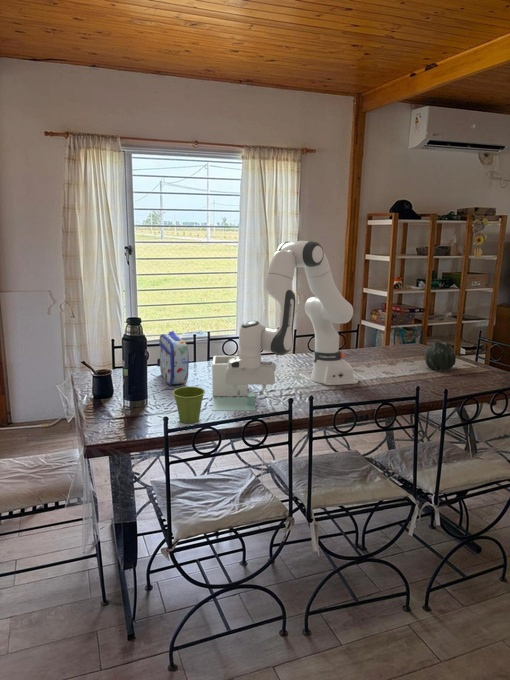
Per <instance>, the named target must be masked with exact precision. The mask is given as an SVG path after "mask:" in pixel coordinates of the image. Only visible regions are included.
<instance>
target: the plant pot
mask: <svg viewBox="0 0 510 680" xmlns="http://www.w3.org/2000/svg"><path fill="white" fill-rule="evenodd" d="M205 393H206V390H205V389H204V388H202V387H200V386H199V387H198V386H181V387H178V388H175V389H174V390H173V391H172V395H173V396H174V400H175V402H176V409H177V412H178V418H179V422H180V423H183V424H188V423H189V424H193V423H197V422H198V421H200V416H201V409H202V403H203V398H204V394H205Z"/></svg>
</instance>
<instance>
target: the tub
mask: <svg viewBox="0 0 510 680" xmlns="http://www.w3.org/2000/svg"><path fill="white" fill-rule="evenodd" d="M238 356H239V355H213V358H212V365H211V368H212V371H211V372H212V373H211V375H212V377H211V378H212V397H247V392H249V388H248V387H249V385H237V389H238V390H240V395H236V390H235V388H234V385H227V384H226V383H225V374H226V369H227V367H228V364H222V363H226V362H228V361H229V359H231V358H235V357H238Z"/></svg>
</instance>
